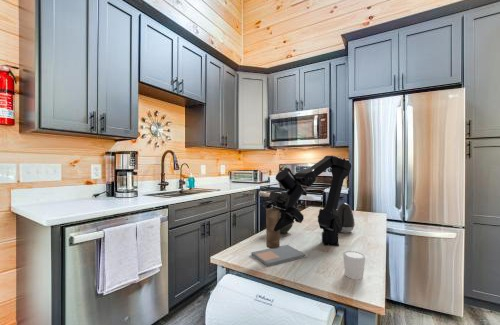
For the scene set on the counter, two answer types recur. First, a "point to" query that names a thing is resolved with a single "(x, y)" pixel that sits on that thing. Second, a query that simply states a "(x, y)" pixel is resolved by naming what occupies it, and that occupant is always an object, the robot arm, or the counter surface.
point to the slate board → (277, 255)
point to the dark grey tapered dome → (345, 217)
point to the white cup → (354, 264)
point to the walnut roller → (272, 228)
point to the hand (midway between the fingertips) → (270, 229)
